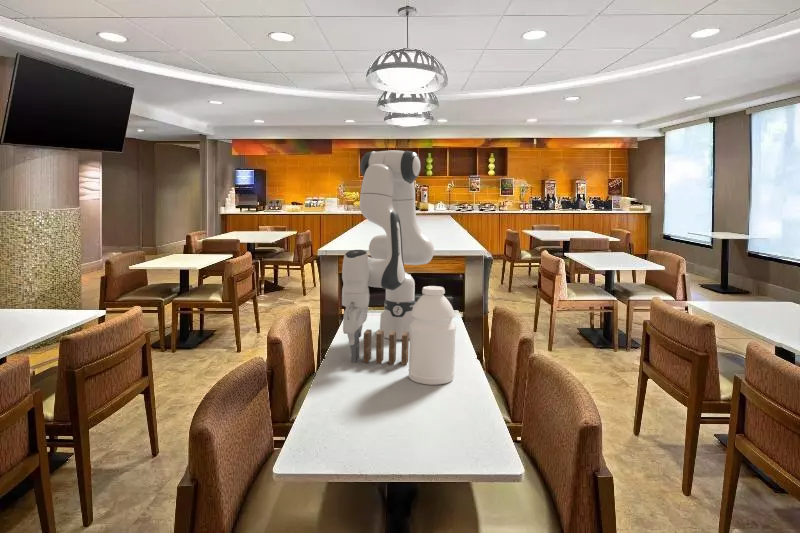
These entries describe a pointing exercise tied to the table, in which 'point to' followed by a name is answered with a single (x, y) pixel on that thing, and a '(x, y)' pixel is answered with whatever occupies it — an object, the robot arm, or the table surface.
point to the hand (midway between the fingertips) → (355, 340)
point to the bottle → (432, 338)
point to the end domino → (355, 348)
